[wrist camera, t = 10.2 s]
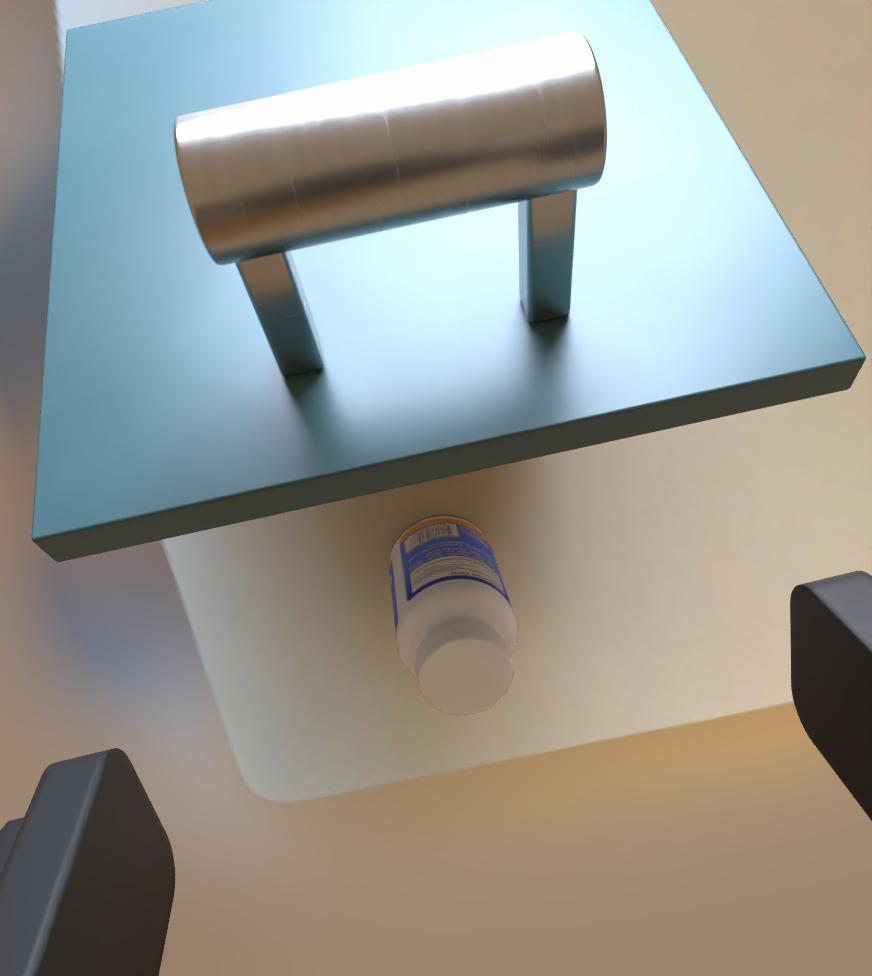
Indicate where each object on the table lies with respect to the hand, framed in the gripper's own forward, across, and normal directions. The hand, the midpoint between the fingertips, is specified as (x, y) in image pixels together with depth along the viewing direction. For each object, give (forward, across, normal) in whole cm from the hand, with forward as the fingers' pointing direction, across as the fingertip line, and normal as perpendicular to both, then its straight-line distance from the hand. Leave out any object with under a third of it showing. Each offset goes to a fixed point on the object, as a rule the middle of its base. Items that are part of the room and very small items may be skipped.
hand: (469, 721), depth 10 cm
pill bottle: (+29, 0, +15) cm, 33 cm away
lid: (+10, -1, -5) cm, 11 cm away
